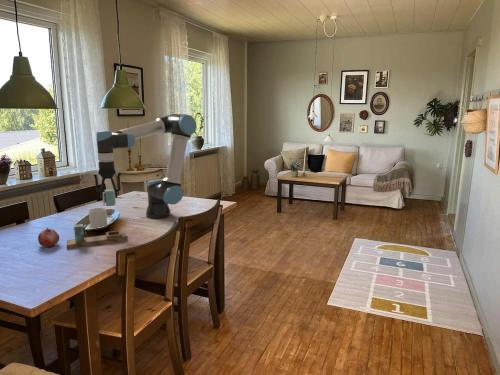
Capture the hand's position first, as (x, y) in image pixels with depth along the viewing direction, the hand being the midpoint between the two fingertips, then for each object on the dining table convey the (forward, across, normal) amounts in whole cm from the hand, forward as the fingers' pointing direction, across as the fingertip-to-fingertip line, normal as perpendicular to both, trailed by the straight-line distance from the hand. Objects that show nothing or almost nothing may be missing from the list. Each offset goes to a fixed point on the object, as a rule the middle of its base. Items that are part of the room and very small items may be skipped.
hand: (109, 204), depth 195 cm
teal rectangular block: (0, 0, 0) cm, 1 cm away
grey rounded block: (+17, +5, -14) cm, 23 cm away
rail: (+17, +8, +9) cm, 21 cm away
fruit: (+17, +30, +4) cm, 35 cm away
